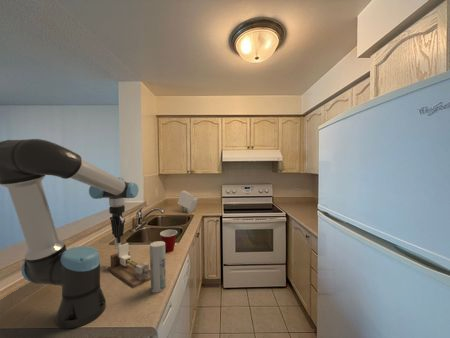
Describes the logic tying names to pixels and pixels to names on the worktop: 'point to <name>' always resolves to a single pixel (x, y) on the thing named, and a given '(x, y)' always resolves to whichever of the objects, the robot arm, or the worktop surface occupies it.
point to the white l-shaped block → (124, 253)
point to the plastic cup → (169, 239)
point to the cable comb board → (130, 271)
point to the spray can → (157, 266)
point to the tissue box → (187, 201)
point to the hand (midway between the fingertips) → (118, 248)
